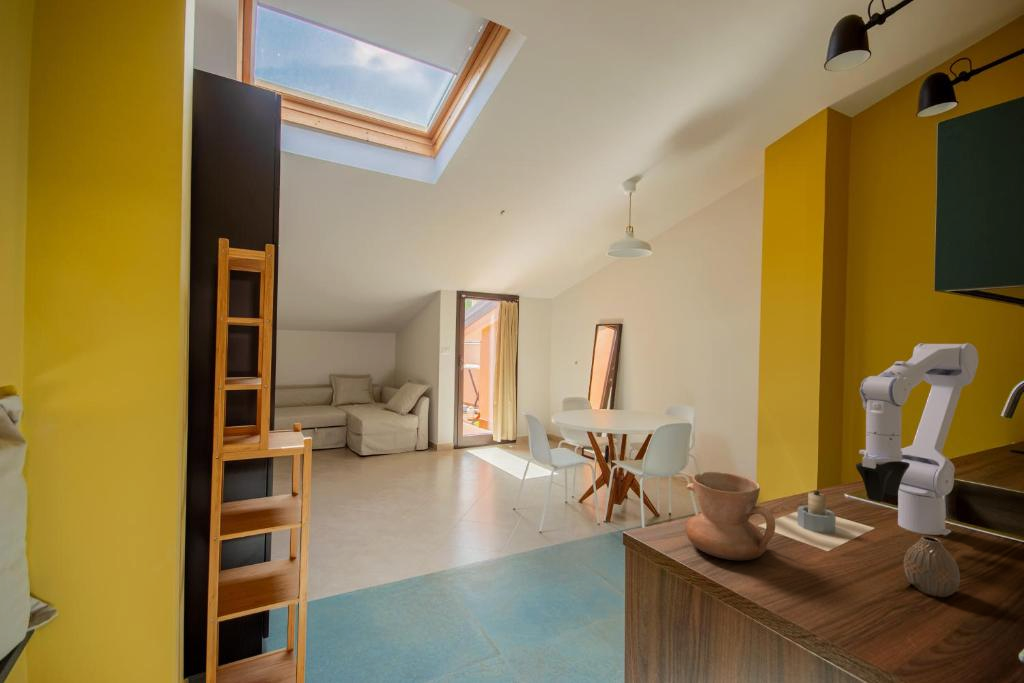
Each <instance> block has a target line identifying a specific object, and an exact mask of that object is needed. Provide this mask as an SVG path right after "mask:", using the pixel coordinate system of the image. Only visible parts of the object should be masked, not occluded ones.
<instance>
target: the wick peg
mask: <svg viewBox="0 0 1024 683" xmlns="http://www.w3.org/2000/svg"><path fill="white" fill-rule="evenodd" d="M807 506H808V513H812V514H816V515H825V509H826V495H825V494H823V493H820V491H819V490H813V491H812V492H807Z"/></svg>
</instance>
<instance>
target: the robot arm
mask: <svg viewBox="0 0 1024 683" xmlns="http://www.w3.org/2000/svg"><path fill="white" fill-rule="evenodd" d="M912 351H913V352H912V356H911V358H909V359H908V360H907V361H904V360H900V361H899V360H897V361H895V362H894V363H893V364H892V365H891V366H890V367H888V368H886V369H885V370H884V371H882V372H881V373H880V374H878V375H870V376H868V377H866V378H864V379H863V380H862V381H861V383H860V384H861V385H860V388H859V396H860V397H861V400H862V407H863V410H865V416H866V417H865V449H860V450H859V453H858V454H860V455H864V456H863V457H862V462H858V463H856V464H855V468H856V470H857V472H858V473H859V475H860V477H861V479H862V481H863V486H864V488H865V492H866V497H867V498H868V500H869V501H873V502H877V503H882V502H883V500H884V497H885V494H886V495H889V496H892V497H893V496H894V497H896V496H897V503H898V504H897V525H898V526H899V527H901V528H903V529H905V530H907V531H910V532H915V533H917V534H923V535H927V536H928V535H931V536H934V535H935V536H939V535H943V536H947V535H949V534H950V533H952V530H951V529H950V528H949V529H948V528H946V501H945V499H944V498H943V497H945V496H948V494H950V493H951V492H952V491H953V488H954V484H955V477H954V476H955V471H956V468H955V465H954V463H953V462H952V461H951V460H950V459H949V458H948V457H947V456H945V455H944V454H943V450H944V446H945V443H946V440H947V437H948V433H949V432H950V428H951V424H952V420H953V418H954V415H955V411H956V409H957V405H958V403H959V399H960V396H961V393H962V389H963V388H964V387H966V386H967V385H971V384H972V383H973V380H974V378H975V375H976V372H977V369H978V366H979V352H978V350H977V348H976V346H974V345H973V344H972V343H968V342H967V343H926V342H925V343H924V342H923V343H922V342H921V343H918V344H917V345H916V346H914V348H913V350H912ZM922 381H924V382H925V383H927V384H929V385H931V388H930V391H929V394H928V397H927V400H926V403H925V406H924V409H923V412H922V415H921V418H920V421H919V424H918V427H917V430H916V433H915V436H914V439H913V442H912V444H911V445H909V446H906V447H903V448H902V406H903V405H905V404H906V403H907V401H908V398H909V395H910V394H911V392H912V389H914V388H915V387H916V386H918V385H919V384H921V383H922Z"/></svg>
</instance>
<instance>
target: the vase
mask: <svg viewBox="0 0 1024 683" xmlns="http://www.w3.org/2000/svg"><path fill="white" fill-rule="evenodd" d="M903 569H904V574H905V576H906V577H907V580H908V581H909V582H910V584H911V585H912V586H913V587H914V588H915V589H916V588H917V590H918V591H919V592H921V593H924V594H926V595H928V596H932V597H936V596H938V598H946V597H949V596H951V595H953V594H954V593H956V591H957V590H958V588H959V585H960V582H961V581H960V579H961V578H960V577H961V574H960V570H959V567H958V564H957V562H956V560H955V559H954V557H953V556H952V555H951V554H950V552H948V550H947V549H946V548H945V546H944V545H943V543H942V541H941V540H940V539H939V538H936V537H933V536H928V535H927V536H926V535H922V536H921V538H920V539H919V540H918V541H917V542H916V543H914V544H913V545H911V546H910V547H908V549H907V551H906V553H905V554H904V557H903Z"/></svg>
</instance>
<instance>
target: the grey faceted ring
mask: <svg viewBox="0 0 1024 683" xmlns="http://www.w3.org/2000/svg"><path fill="white" fill-rule="evenodd" d="M797 511H798V525H799V526H801V527H802V528H804V529H807V530H810V531H813V532H818V533H833V532H835V521H836V517H837V516H836V513H835V512H833V511H831V510H830V509H827V508H825V515H816V514H812V513H808V505H800V506H797Z"/></svg>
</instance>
